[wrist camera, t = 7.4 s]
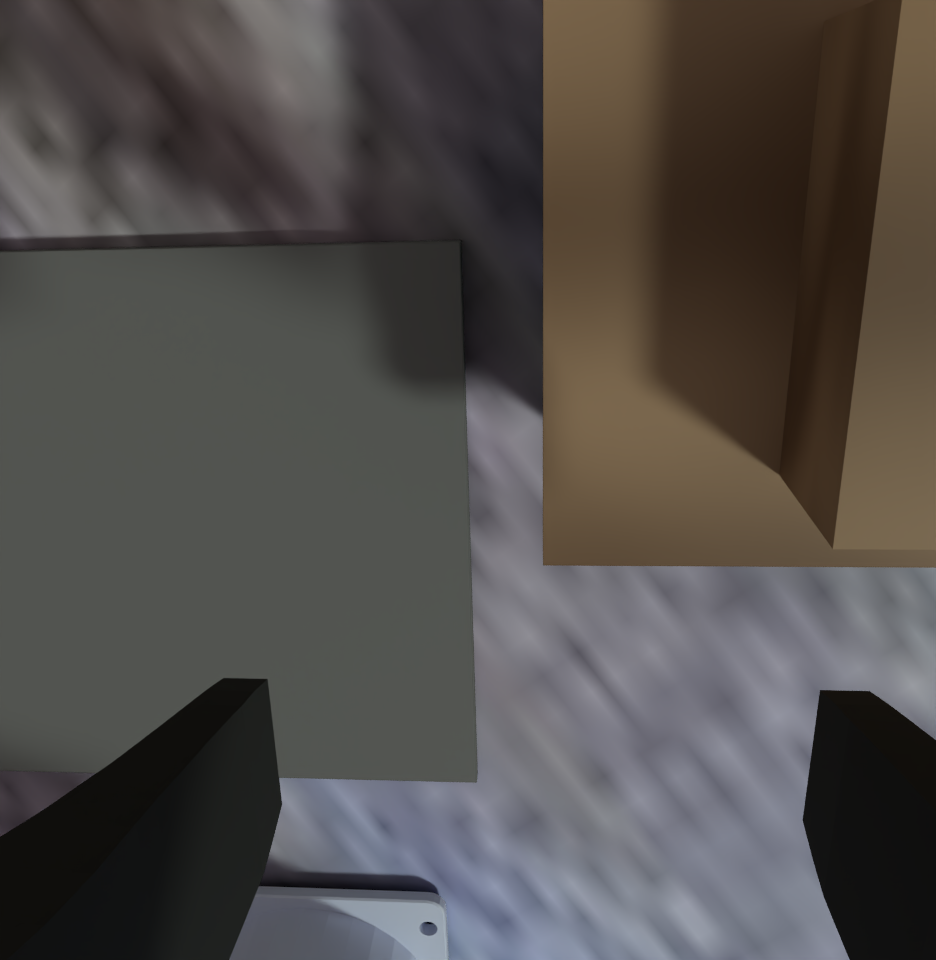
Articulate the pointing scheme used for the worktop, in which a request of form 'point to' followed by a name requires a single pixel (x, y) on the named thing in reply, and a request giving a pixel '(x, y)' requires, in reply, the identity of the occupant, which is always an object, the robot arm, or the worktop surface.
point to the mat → (237, 502)
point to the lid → (739, 283)
